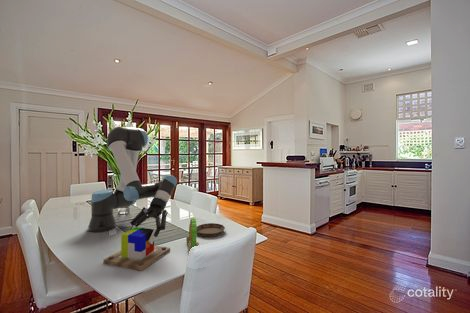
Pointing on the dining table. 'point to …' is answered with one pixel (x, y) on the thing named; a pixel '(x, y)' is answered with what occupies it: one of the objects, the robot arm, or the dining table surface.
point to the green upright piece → (192, 234)
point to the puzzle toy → (136, 243)
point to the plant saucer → (210, 229)
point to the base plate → (137, 263)
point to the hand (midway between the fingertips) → (139, 241)
